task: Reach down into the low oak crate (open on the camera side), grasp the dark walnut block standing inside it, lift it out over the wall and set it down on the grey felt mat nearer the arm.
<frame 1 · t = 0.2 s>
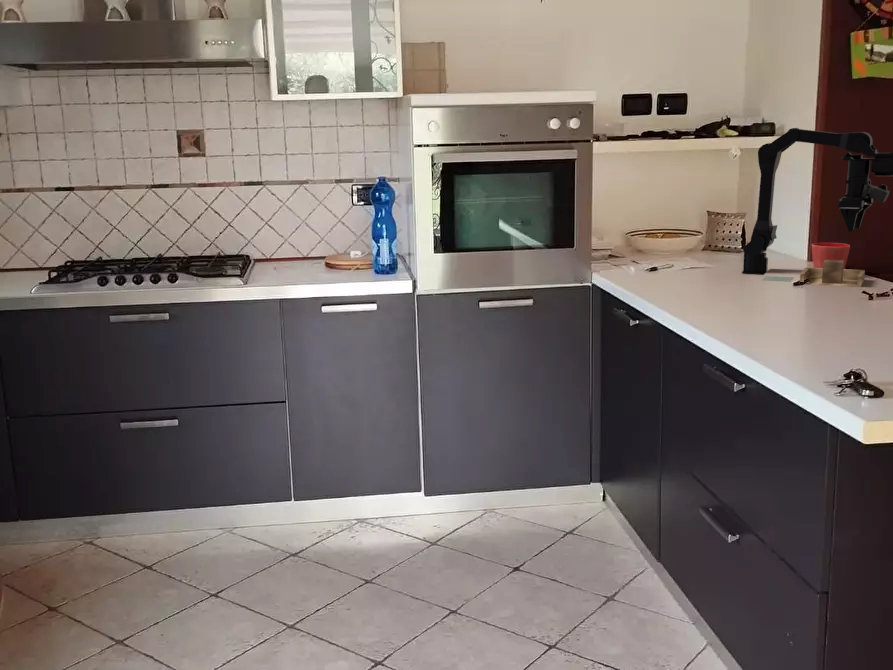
hand: (854, 229, 266), 14 cm above the worktop, fingers open, 9 cm apart
flower pot: (828, 276, 273), on the worktop
mat: (777, 280, 268), on the worktop
block: (832, 281, 260), point 1 cm above the worktop, touching crate
crate: (832, 283, 260), on the worktop
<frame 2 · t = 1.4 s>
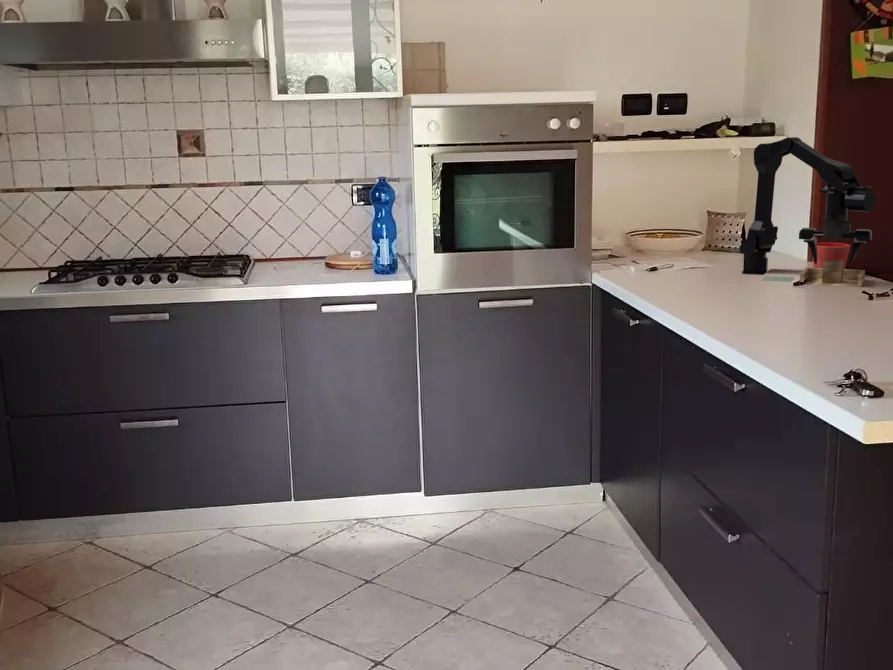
hand: (832, 264, 259), 6 cm above the worktop, fingers open, 9 cm apart
nothing on the worktop moved.
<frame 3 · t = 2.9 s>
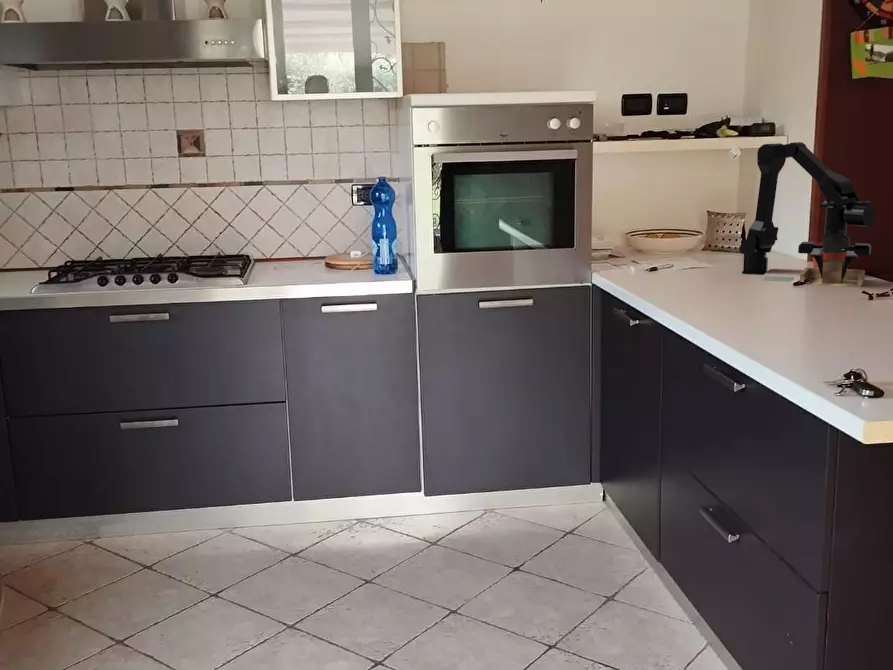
hand: (832, 278, 260), 2 cm above the worktop, fingers closed on block, 5 cm apart
block: (832, 281, 260), point 1 cm above the worktop, touching crate, gripper
everything else where it was.
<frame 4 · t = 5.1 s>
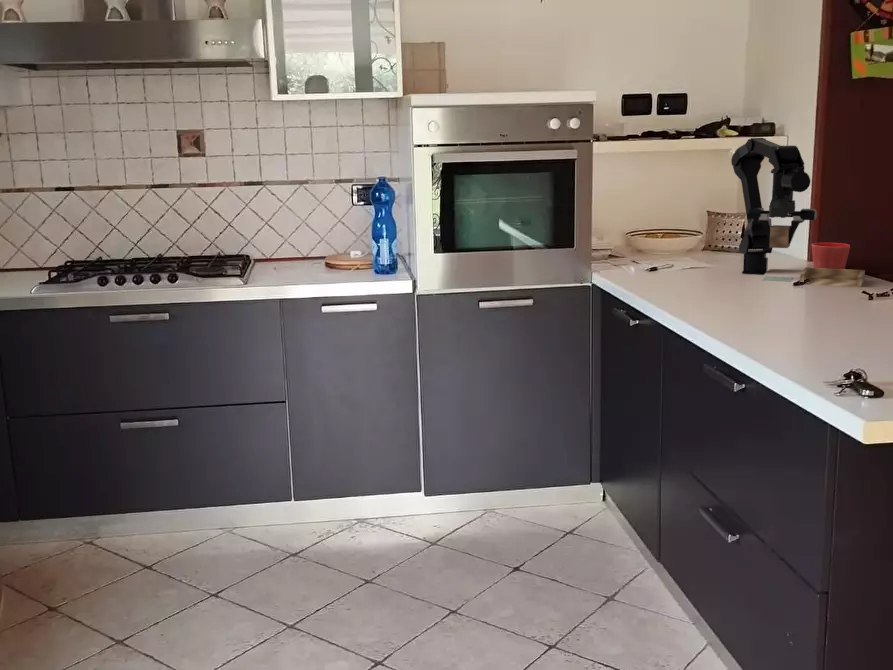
hand: (779, 243, 265), 11 cm above the worktop, fingers closed on block, 5 cm apart
block: (779, 246, 266), point 10 cm above the worktop, touching gripper
everything else where it was.
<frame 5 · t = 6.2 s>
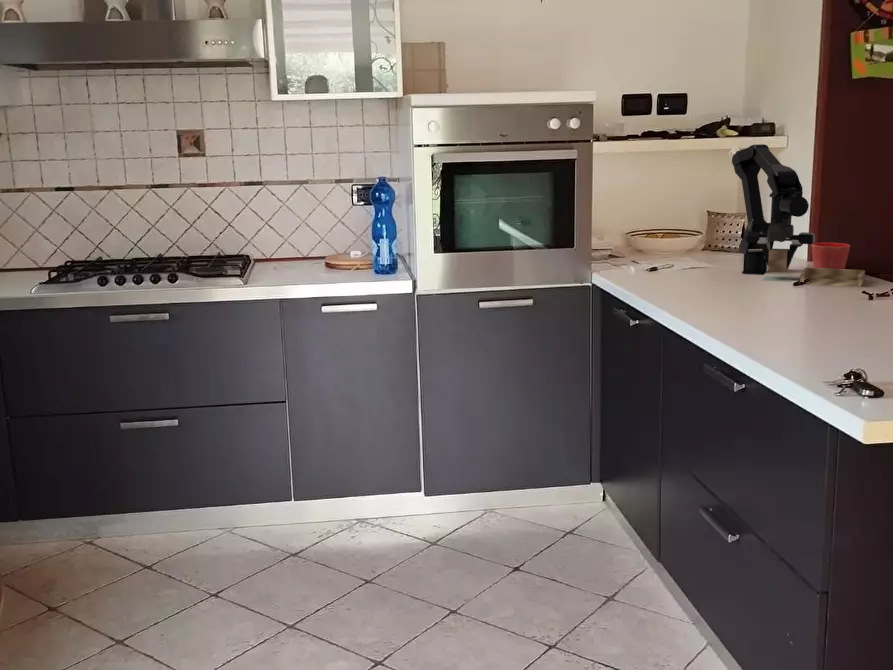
hand: (778, 266, 267), 4 cm above the worktop, fingers closed on block, 5 cm apart
block: (778, 270, 267), point 3 cm above the worktop, touching gripper
everything else where it was.
when the fingers open (3 cm above the worktop, at t = 7.3 s): block drops 1 cm, resting on mat.
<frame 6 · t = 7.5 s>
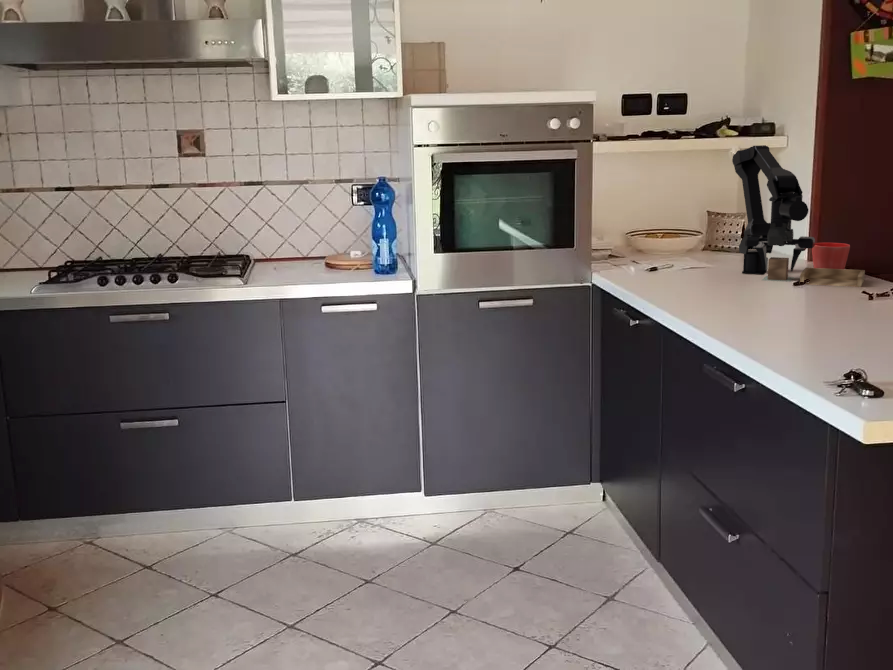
hand: (778, 270, 267), 3 cm above the worktop, fingers open, 7 cm apart
block: (777, 278, 268), point 1 cm above the worktop, touching mat
everything else where it was.
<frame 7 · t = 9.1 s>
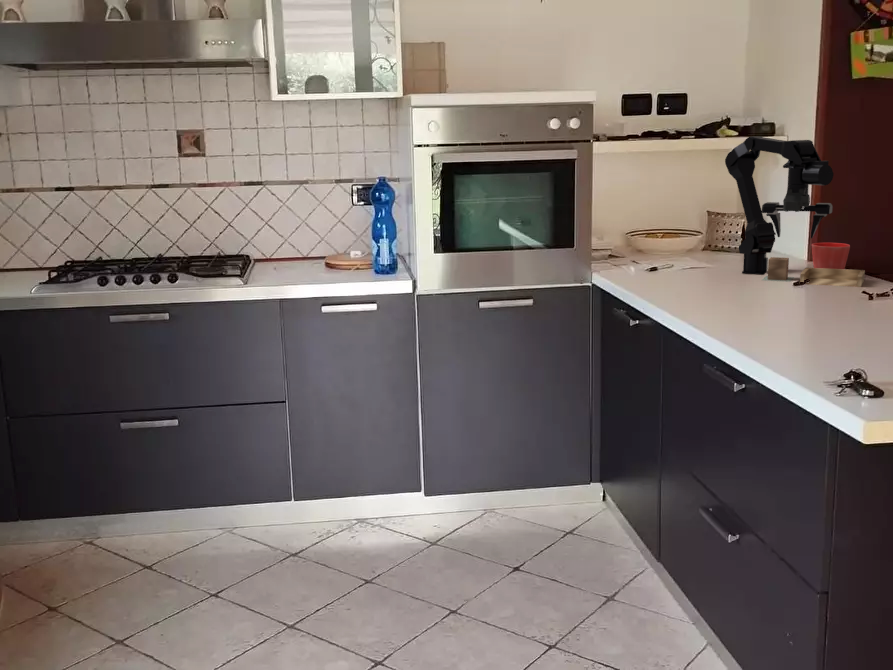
hand: (795, 237, 266), 13 cm above the worktop, fingers open, 9 cm apart
nothing on the worktop moved.
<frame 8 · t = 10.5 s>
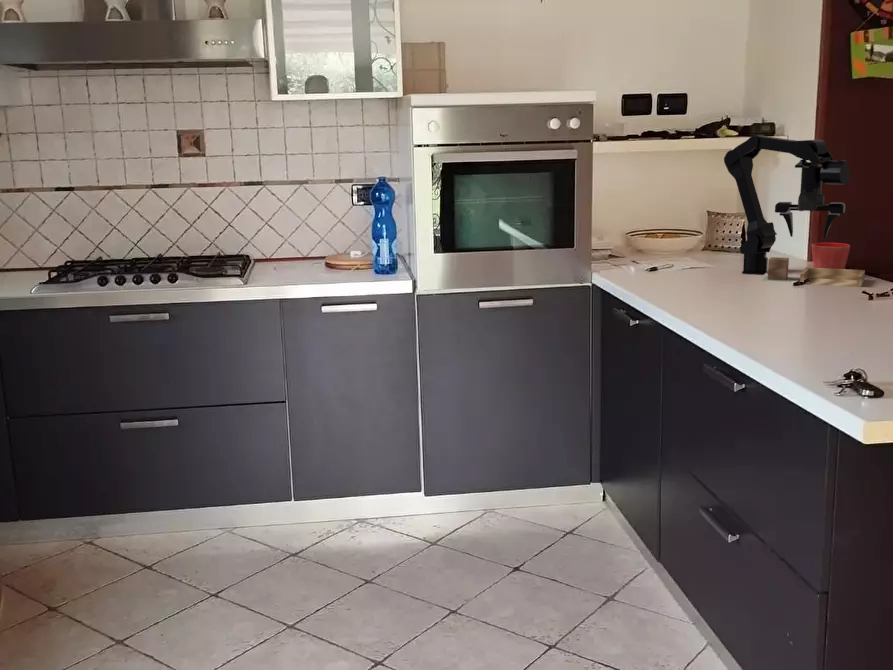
hand: (808, 237, 267), 12 cm above the worktop, fingers open, 9 cm apart
nothing on the worktop moved.
at the end: block inside the target area on the mat (0.1 cm from its centre), point 0.6 cm above the mat's base; block tilted 0°; the gripper is holding nothing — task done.
